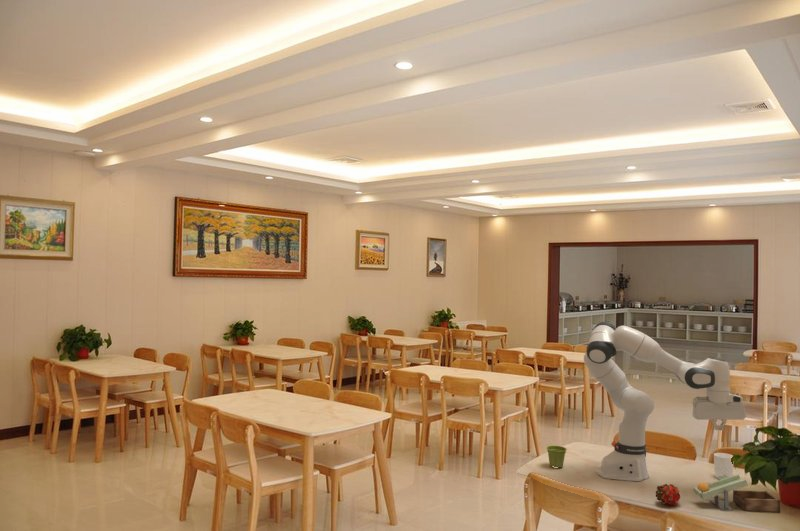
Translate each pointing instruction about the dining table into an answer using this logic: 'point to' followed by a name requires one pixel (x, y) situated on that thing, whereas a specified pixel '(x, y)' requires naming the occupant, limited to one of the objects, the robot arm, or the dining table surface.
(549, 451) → the plant pot
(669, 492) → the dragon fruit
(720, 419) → the robot arm
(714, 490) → the lever
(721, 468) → the white cup
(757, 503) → the tray
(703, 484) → the ball
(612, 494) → the dining table surface
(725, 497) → the fulcrum
